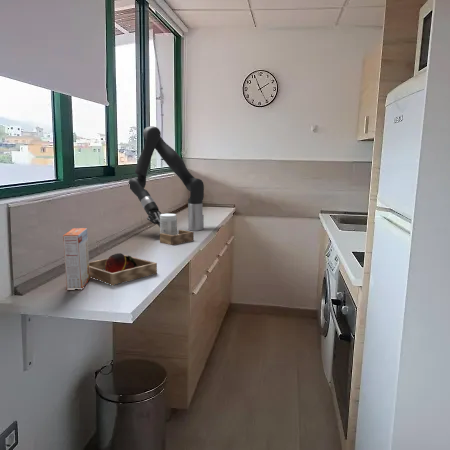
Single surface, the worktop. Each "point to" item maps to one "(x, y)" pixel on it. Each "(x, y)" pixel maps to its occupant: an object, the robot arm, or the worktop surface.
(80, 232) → the cracker box
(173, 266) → the worktop surface
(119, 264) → the red oval lump
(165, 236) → the cradle
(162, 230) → the supplement tub
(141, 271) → the fruit corral
